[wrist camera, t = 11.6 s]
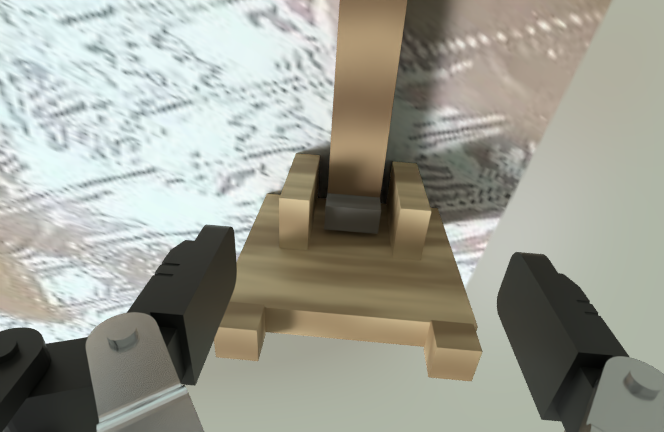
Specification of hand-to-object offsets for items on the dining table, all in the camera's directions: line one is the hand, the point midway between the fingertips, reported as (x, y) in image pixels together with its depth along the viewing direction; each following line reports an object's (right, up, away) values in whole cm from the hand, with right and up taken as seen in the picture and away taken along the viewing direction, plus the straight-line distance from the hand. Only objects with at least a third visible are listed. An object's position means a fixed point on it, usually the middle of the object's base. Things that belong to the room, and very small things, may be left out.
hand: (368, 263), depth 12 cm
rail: (+1, +11, +19) cm, 22 cm away
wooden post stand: (+1, +3, +23) cm, 23 cm away
